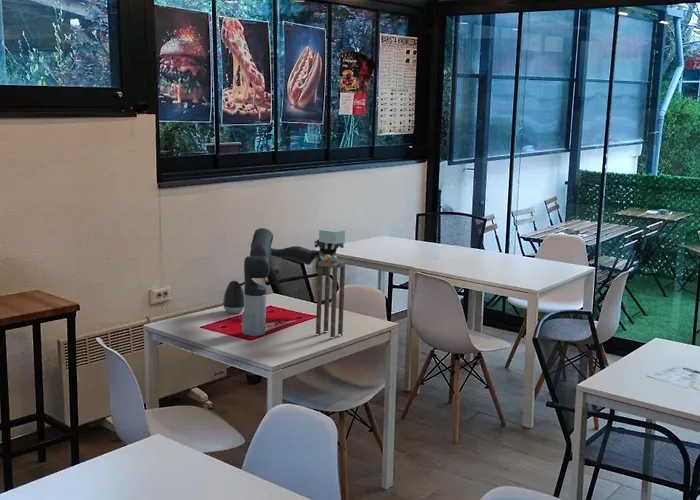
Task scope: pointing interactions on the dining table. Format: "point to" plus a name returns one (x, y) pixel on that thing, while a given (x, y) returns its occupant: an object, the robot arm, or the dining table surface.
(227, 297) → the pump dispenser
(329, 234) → the mint green block
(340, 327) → the walnut stand
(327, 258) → the amber marble
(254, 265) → the robot arm
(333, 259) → the slate marble
